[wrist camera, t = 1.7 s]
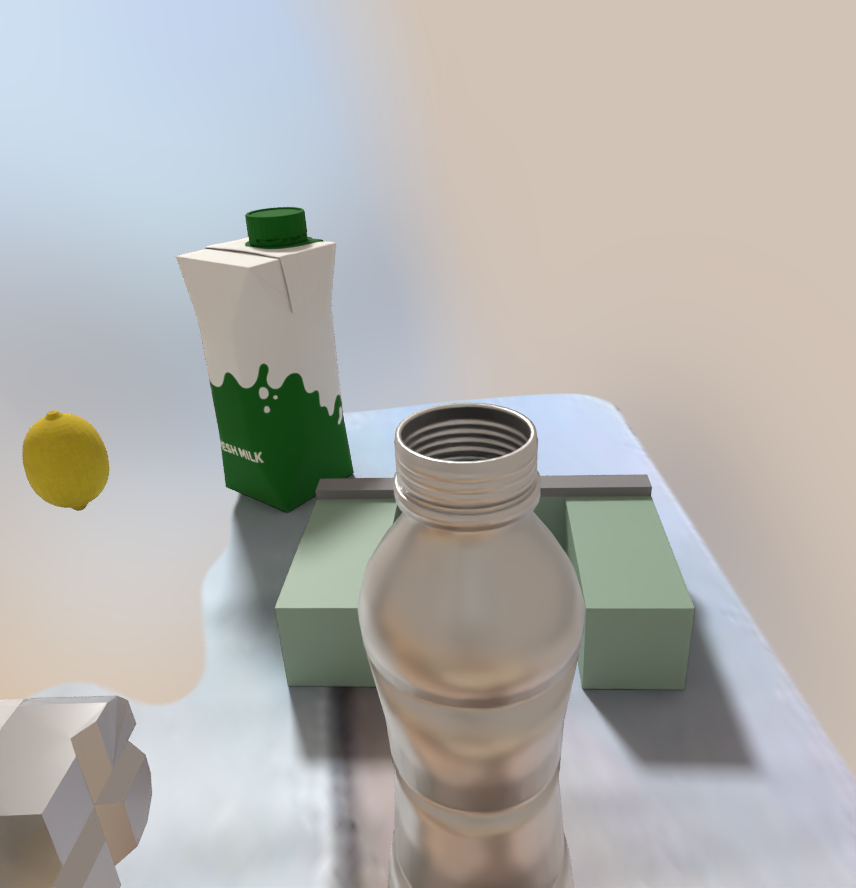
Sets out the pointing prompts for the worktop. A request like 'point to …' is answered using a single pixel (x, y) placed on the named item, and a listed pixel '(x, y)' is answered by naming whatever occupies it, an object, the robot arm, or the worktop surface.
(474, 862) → the plastic bottle
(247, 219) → the milk carton
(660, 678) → the green u-shaped bracket
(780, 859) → the worktop surface
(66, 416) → the lemon
